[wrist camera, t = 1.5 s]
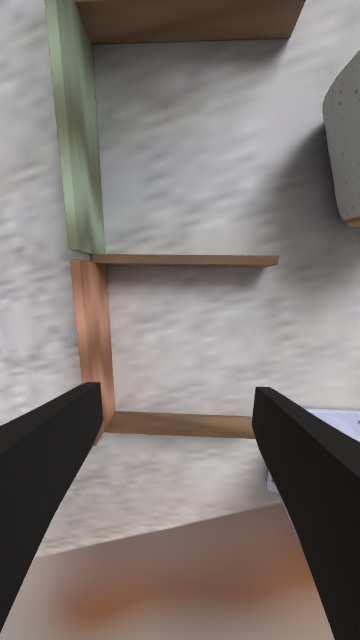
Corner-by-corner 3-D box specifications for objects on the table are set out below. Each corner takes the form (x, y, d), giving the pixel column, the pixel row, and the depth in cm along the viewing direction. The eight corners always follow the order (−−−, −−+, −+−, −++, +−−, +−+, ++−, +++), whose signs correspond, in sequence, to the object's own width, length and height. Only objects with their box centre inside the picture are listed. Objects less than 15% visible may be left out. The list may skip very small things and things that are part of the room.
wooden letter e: (250, 422, 18) (267, 460, 14) (109, 416, 19) (89, 451, 15) (291, 26, 12) (339, -93, 8) (82, 33, 13) (36, -76, 9)
